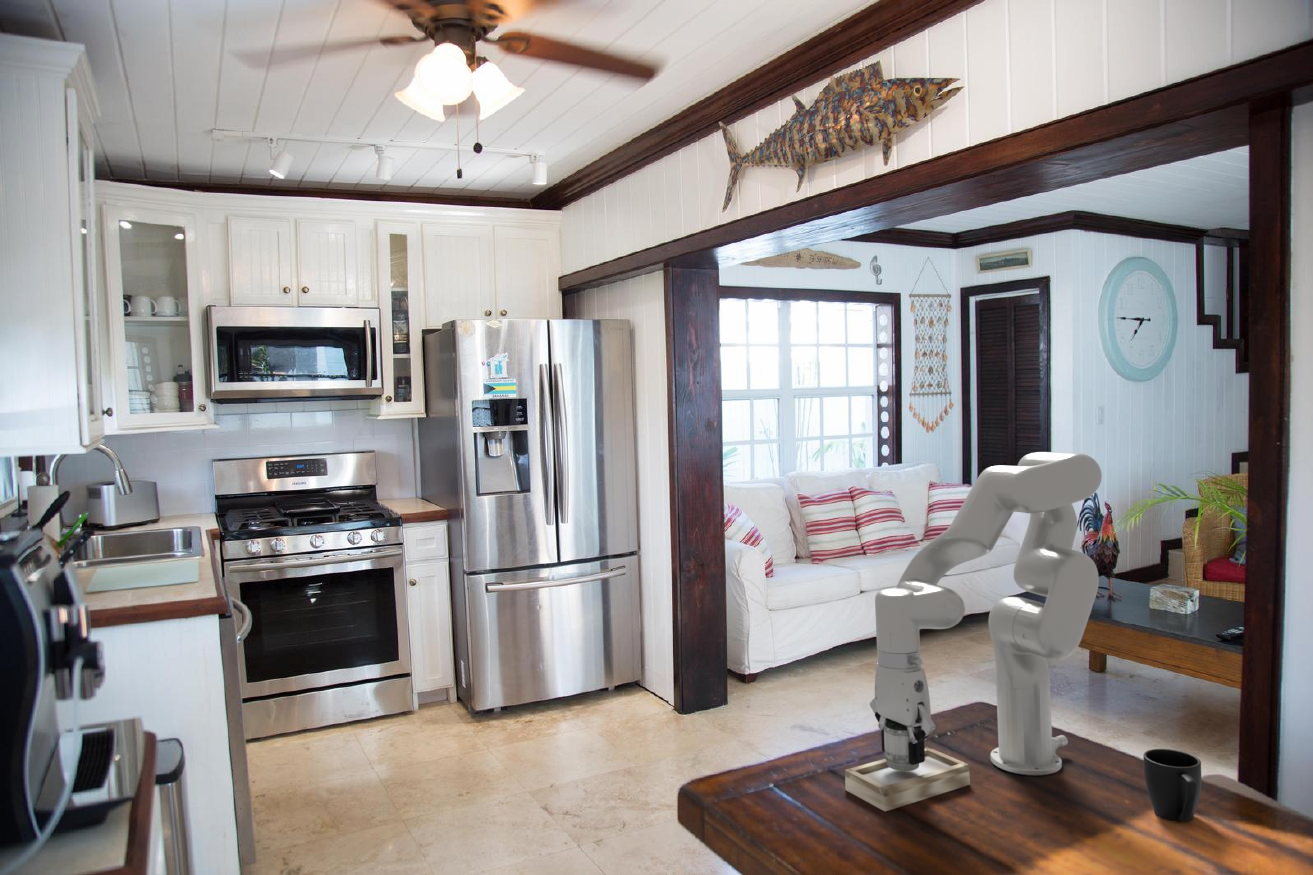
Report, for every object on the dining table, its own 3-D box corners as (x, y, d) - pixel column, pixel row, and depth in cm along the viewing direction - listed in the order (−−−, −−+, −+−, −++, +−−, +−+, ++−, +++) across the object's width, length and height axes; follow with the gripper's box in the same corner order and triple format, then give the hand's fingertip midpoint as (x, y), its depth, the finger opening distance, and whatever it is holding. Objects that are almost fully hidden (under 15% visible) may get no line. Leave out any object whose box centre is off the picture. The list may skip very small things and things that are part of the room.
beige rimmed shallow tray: (928, 765, 170) (927, 746, 170) (969, 784, 161) (969, 764, 161) (845, 790, 161) (844, 770, 161) (885, 811, 152) (884, 790, 151)
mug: (1163, 836, 139) (1161, 776, 138) (1138, 803, 150) (1136, 747, 150) (1221, 839, 137) (1219, 778, 137) (1191, 805, 149) (1189, 749, 149)
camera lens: (919, 773, 156) (917, 729, 156) (882, 770, 158) (881, 726, 158) (922, 760, 162) (920, 717, 162) (887, 756, 164) (885, 714, 164)
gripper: (950, 665, 154) (954, 767, 154) (882, 645, 169) (886, 738, 170) (917, 673, 150) (922, 777, 151) (851, 651, 166) (855, 746, 166)
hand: (903, 755), depth 160 cm, fingers closed on camera lens, 6 cm apart
